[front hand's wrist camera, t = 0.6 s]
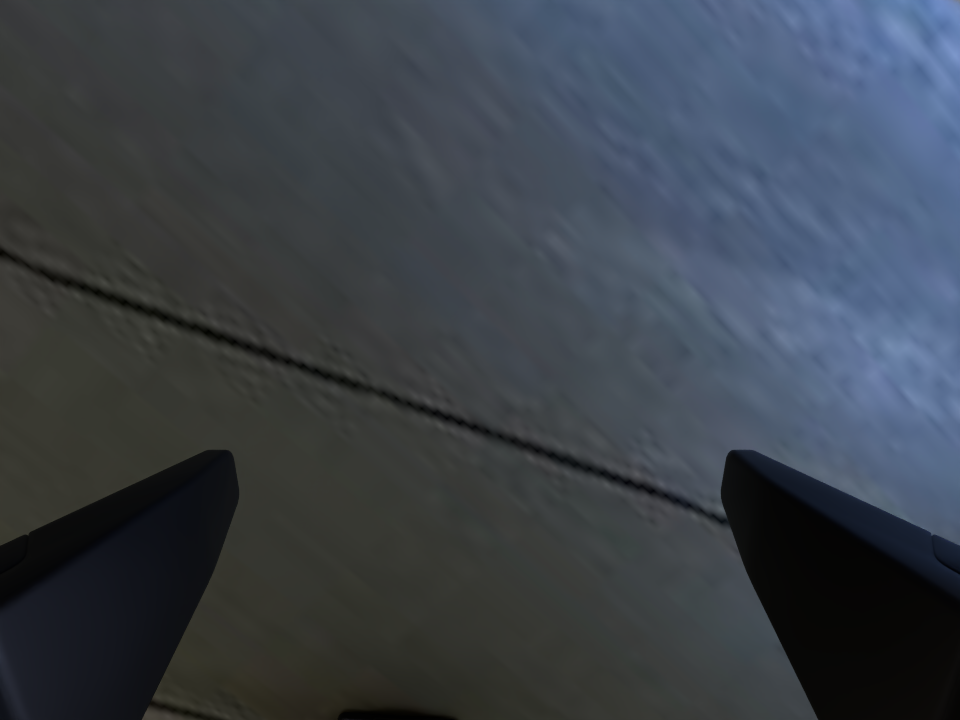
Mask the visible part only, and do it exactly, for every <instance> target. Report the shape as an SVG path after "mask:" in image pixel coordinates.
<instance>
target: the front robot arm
mask: <svg viewBox="0 0 960 720" xmlns="http://www.w3.org/2000/svg"><path fill="white" fill-rule="evenodd" d="M238 499H239V486H238V480H237V474H236V468H235V462H234V457H233V455H232V453H231V452H230V451H229V450H207V451H204V452H202V453H200V454H198V455H195V456H193V457H191V458H189V459H187V460H185V461H182V462H180V463H178V464H176V465H174V466H172V467H170V468H167V469H165V470H163V471H161V472H159V473H157V474H154V475H152V476H150V477H148V478H146V479H144V480H141V481H139V482H137V483H135V484H133V485H131V486H129V487H126V488H124V489H122V490H120V491H118V492H116V493H113V494H111V495H109V496H107V497H105V498H103V499H101V500H98V501H96V502H94V503H92V504H90V505H88V506H85V507H83V508H81V509H79V510H77V511H75V512H72V513H70V514H68V515H66V516H64V517H62V518H60V519H57V520H55V521H53V522H51V523H49V524H47V525H44V526H42V527H40V528H38V529H36V530H34V531H31V532H30V533H29V536H28V535H23V536H20V537H18V538H16V539H14V540H12V541H10V542H8V543H5V544H3V545H1V546H0V720H142V718H143V716H144V714H145V712H146V710H147V708H148V706H149V704H150V702H151V700H152V697H153V695H154V693H155V691H156V689H157V687H158V685H159V683H160V681H161V679H162V677H163V675H164V673H165V671H166V669H167V667H168V665H169V663H170V661H171V659H172V657H173V654H174V652H175V650H176V648H177V646H178V644H179V642H180V640H181V638H182V636H183V634H184V632H185V630H186V628H187V626H188V624H189V622H190V620H191V618H192V616H193V613H194V611H195V609H196V607H197V605H198V603H199V601H200V599H201V597H202V595H203V593H204V591H205V589H206V587H207V585H208V583H209V580H210V578H211V576H212V574H213V571H214V569H215V566H216V564H217V561H218V558H219V555H220V552H221V550H222V547H223V544H224V541H225V538H226V535H227V532H228V529H229V527H230V524H231V521H232V518H233V515H234V512H235V509H236V506H237V504H238ZM721 499H722V504H723V506H724V509H725V512H726V515H727V518H728V521H729V524H730V527H731V529H732V532H733V535H734V538H735V541H736V544H737V547H738V550H739V552H740V555H741V558H742V561H743V564H744V566H745V569H746V571H747V574H748V576H749V578H750V580H751V583H752V585H753V587H754V589H755V591H756V593H757V595H758V597H759V599H760V601H761V603H762V605H763V607H764V609H765V611H766V613H767V616H768V618H769V620H770V622H771V624H772V626H773V628H774V630H775V632H776V634H777V636H778V638H779V640H780V642H781V644H782V646H783V648H784V650H785V652H786V654H787V657H788V659H789V661H790V663H791V665H792V667H793V669H794V671H795V673H796V675H797V677H798V679H799V681H800V683H801V685H802V687H803V689H804V691H805V693H806V695H807V697H808V700H809V702H810V704H811V706H812V708H813V710H814V712H815V714H816V716H817V718H818V720H960V546H959V545H957V544H955V543H952V542H950V541H948V540H946V539H944V538H942V537H940V536H937V535H932V536H931V533H930V532H929V531H926V530H924V529H922V528H920V527H918V526H916V525H913V524H911V523H909V522H907V521H905V520H903V519H900V518H898V517H896V516H894V515H892V514H890V513H888V512H885V511H883V510H881V509H879V508H877V507H875V506H872V505H870V504H868V503H866V502H864V501H862V500H859V499H857V498H855V497H853V496H851V495H849V494H847V493H844V492H842V491H840V490H838V489H836V488H834V487H831V486H829V485H827V484H825V483H823V482H821V481H819V480H816V479H814V478H812V477H810V476H808V475H806V474H803V473H801V472H799V471H797V470H795V469H793V468H790V467H788V466H786V465H784V464H782V463H780V462H778V461H775V460H773V459H771V458H769V457H767V456H765V455H762V454H760V453H758V452H756V451H753V450H731V451H730V452H729V453H728V455H727V457H726V462H725V468H724V474H723V480H722V486H721ZM338 720H453V719H440V718H424V717H409V716H393V715H377V714H362V713H342V714H340V715H339V717H338Z"/></svg>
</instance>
